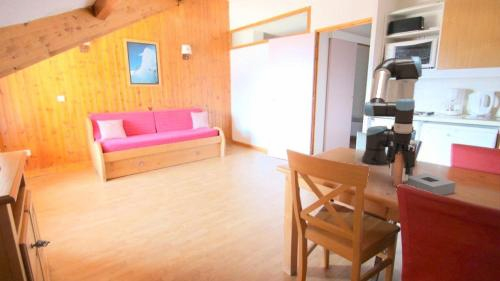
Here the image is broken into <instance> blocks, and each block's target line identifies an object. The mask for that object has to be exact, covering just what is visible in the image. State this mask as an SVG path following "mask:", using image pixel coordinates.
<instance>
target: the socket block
mask: <svg viewBox="0 0 500 281" xmlns="http://www.w3.org/2000/svg"><path fill="white" fill-rule="evenodd" d="M404 183H405V184H408V185H411V186H414V187H416V188H419V189H422V190H426V191H429V192H432V193H436V194H440V195H442V196H447V195H450V194H454V193H455V192H456V191H455V190H456V186H457V185H456V183H457V182H455V181H453V180H449V179H447V178H444V177H440V176H437V175H433V174H431V173H427V172H424V173H421V174H419V173H418V174H414V175H412V176H408V180H407V181H404Z"/></svg>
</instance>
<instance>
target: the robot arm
mask: <svg viewBox="0 0 500 281" xmlns="http://www.w3.org/2000/svg"><path fill="white" fill-rule="evenodd" d="M422 68H423V66H422V59H421V57H420V56H406V57H405V56H404V57H391V58H387V59H384V60H383V61H381V62H380V63H379V64H378V65H377V66H376V67H375V68H374V70H373V74H372V78H373V82H372V86H371V87H372V88H371V93H370V98H369V101H367V102H365V103H364V106H363V114H364V116H365V117H375V118H376V117H378V118H381V117H383V118H384V117H385V118H386V117H387V118H394V123H393V124H392V125H391V128H389V127H388V126H387V125H375V126H370V127H368V128H367V129H366V134H365V138H366V140H365V150H364V152H363V155H362V157H361V162H362V161H363V162H362V163H364V162H365V163H364V164H367V165H373V166H385V165H387V164H388V168H389V171H388V172H389V174H388V176H389V177H394V167H395V156H396V154H397V153H399V151H400V152H401V154H402V155H403V160H404V165H405V167H404V168H403V176H402V181H403V182H405V181H407V180H408V175H409V174H410V168H413V167H414V168H415V166H416V165H415V164H416V158H415V150H416V151H417V148H416V147H413V146H411V145H410V141H411V140H414V141H416V140H415V139H416V134H417V130H416V129H414V125H413V123H414V115H415V107H416V106H415V103H416V101H415V99H414V96H415V88H416V87H415V85H416V83H417V82H418V81H419V78H421V77H422V76H423V73H422V72H423V71H422V70H423V69H422ZM390 79H395V80H394V81H395V82H396V84H397V92H396V101H389V102H388V101H386V99H387V92H388V85H389V84H388V83H389V80H390ZM386 148H387V151H386ZM408 148H409V149H408ZM405 151H406V152H405ZM408 153H409V154H408Z"/></svg>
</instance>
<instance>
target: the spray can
mask: <svg viewBox="0 0 500 281" xmlns="http://www.w3.org/2000/svg"><path fill="white" fill-rule="evenodd" d="M410 145H411V146H413V147H416V150H415V159H416V157H417V148H418V142H417V140H411V141H410ZM408 149H409V148H408ZM405 152H406V151H405ZM399 153H401V152H400V151H399ZM408 154H409V153H408ZM404 167H405V165H404ZM414 169H415V167H413V168H410V174H409V175H408V176H412V175H413V174H414Z"/></svg>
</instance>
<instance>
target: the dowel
mask: <svg viewBox="0 0 500 281" xmlns="http://www.w3.org/2000/svg"><path fill="white" fill-rule="evenodd" d="M394 163H395V167H394V176H393V180H392V181H393V182H392V186H393V187H395V188H397V187H396V186H397V185H399V184H402V185H403V184H404V183H403V182H404V181H402V176H403V168H404V160H403V155H402V154H401V153H397V154H396V156H395V162H394Z"/></svg>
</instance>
